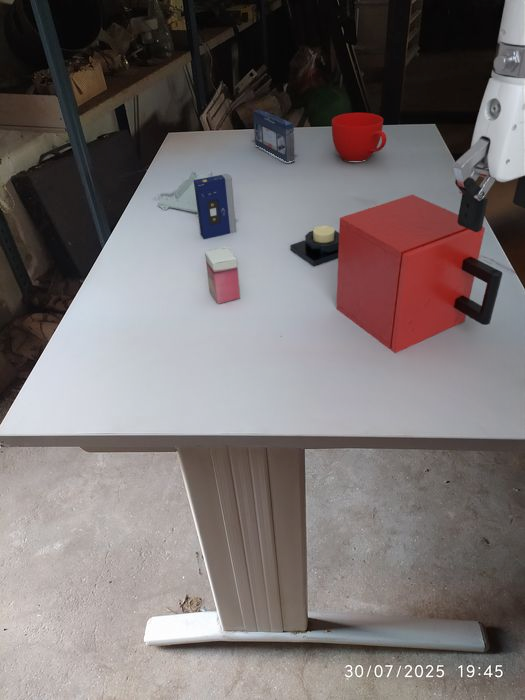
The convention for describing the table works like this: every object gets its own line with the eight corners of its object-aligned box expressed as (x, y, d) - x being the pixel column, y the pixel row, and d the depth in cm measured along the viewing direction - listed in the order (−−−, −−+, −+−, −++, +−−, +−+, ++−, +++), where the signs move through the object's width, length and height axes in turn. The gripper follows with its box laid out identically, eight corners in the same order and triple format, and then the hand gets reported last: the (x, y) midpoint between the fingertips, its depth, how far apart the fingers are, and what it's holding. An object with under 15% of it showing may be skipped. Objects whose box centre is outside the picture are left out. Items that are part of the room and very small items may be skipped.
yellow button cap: (325, 232, 105) (326, 223, 103) (338, 239, 102) (338, 231, 101) (308, 237, 103) (308, 229, 102) (321, 245, 100) (321, 237, 99)
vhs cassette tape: (254, 146, 156) (252, 110, 150) (263, 144, 157) (261, 108, 151) (285, 164, 143) (284, 125, 136) (295, 162, 144) (294, 123, 137)
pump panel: (331, 236, 109) (332, 222, 107) (356, 251, 103) (357, 237, 101) (290, 250, 105) (289, 236, 103) (313, 267, 99) (314, 252, 97)
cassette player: (203, 239, 110) (196, 182, 103) (200, 235, 112) (192, 178, 105) (237, 232, 112) (232, 175, 105) (233, 227, 114) (228, 171, 107)
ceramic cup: (363, 175, 134) (365, 133, 128) (320, 158, 145) (321, 119, 139) (401, 163, 139) (405, 122, 133) (357, 147, 150) (359, 109, 144)
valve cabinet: (458, 318, 84) (478, 223, 74) (389, 349, 79) (401, 251, 69) (401, 283, 93) (412, 194, 83) (336, 309, 88) (339, 217, 78)
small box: (208, 290, 95) (203, 250, 90) (232, 285, 96) (227, 245, 91) (217, 305, 91) (212, 263, 86) (241, 299, 92) (237, 258, 87)
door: (495, 340, 79) (521, 243, 70) (424, 375, 74) (441, 275, 64) (459, 318, 84) (479, 224, 74) (390, 349, 79) (402, 253, 69)
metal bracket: (184, 163, 130) (237, 172, 123) (192, 184, 134) (243, 193, 128) (151, 201, 123) (205, 211, 117) (160, 221, 128) (212, 232, 121)
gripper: (505, 80, 49) (470, 248, 60) (619, 52, 56) (570, 209, 66) (444, 68, 55) (422, 225, 65) (555, 44, 61) (519, 190, 72)
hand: (497, 217), depth 66 cm, fingers open, 9 cm apart
